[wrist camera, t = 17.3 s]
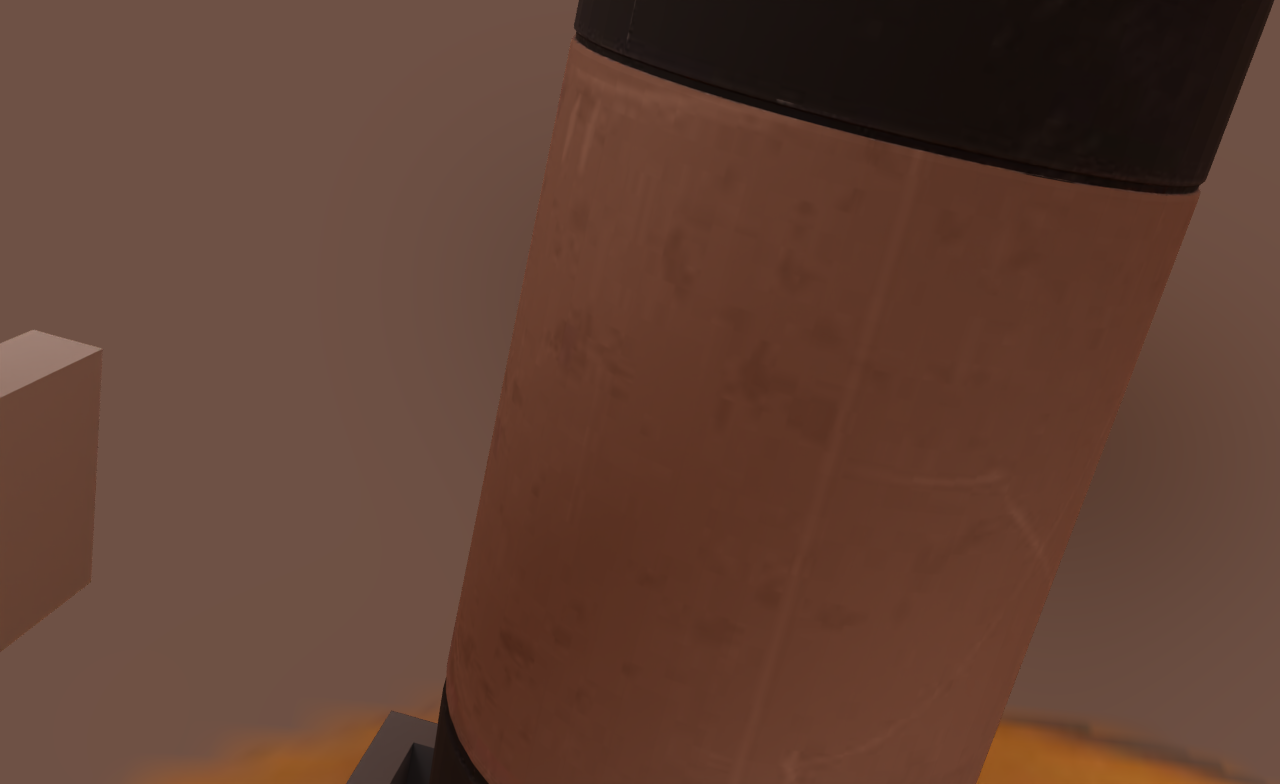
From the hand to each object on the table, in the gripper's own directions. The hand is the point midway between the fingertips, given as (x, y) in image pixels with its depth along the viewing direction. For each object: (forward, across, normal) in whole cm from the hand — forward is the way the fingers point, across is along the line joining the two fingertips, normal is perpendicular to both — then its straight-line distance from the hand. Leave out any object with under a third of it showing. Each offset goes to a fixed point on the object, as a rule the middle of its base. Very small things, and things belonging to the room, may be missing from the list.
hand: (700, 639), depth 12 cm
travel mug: (+5, 0, -13) cm, 14 cm away
